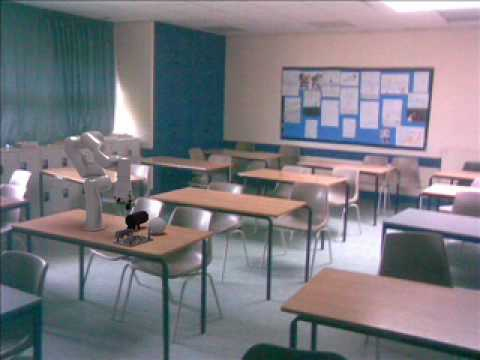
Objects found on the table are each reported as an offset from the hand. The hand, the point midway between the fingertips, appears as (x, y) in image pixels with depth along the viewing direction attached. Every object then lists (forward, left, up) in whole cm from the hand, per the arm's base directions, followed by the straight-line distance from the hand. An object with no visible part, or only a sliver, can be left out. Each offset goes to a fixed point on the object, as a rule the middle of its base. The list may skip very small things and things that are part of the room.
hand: (123, 208), depth 311 cm
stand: (+1, 0, -16) cm, 16 cm away
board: (0, 0, +1) cm, 1 cm away
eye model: (+13, +15, -16) cm, 25 cm away
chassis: (+14, -6, -16) cm, 22 cm away
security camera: (-4, +15, -16) cm, 23 cm away
